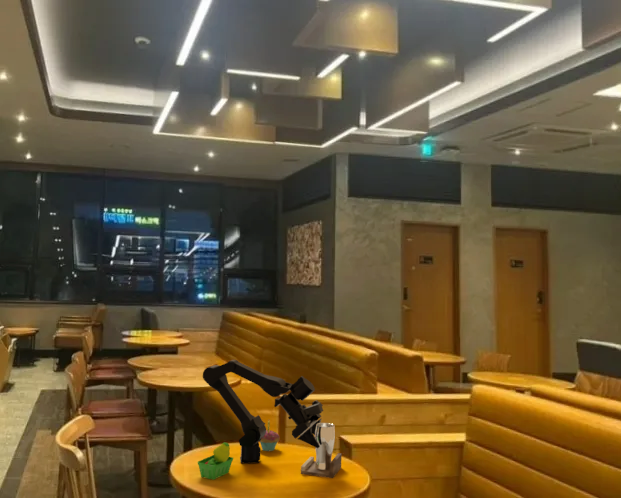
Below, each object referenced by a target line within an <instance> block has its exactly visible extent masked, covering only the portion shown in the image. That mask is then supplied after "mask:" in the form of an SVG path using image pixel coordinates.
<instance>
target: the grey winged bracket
mask: <svg viewBox="0 0 621 498" xmlns="http://www.w3.org/2000/svg"><path fill="white" fill-rule="evenodd" d="M342 455H343V453H341V452H340V453H339V452H338V453H337V454H336V455H335V457H333V459H331V463H330V470H328V471H321V470H317V469H316V468H315V463H316V460H315V457H314V456H309V458H308V459H307V460H306V461H305V462H304V463H303V464H302V465H301V466H300V474H301V475H307V476H315V477H321V478H329V479H334V478H335V477H336V475H337V474H338V472H339V471H340V470H341V468H342Z"/></svg>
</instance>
